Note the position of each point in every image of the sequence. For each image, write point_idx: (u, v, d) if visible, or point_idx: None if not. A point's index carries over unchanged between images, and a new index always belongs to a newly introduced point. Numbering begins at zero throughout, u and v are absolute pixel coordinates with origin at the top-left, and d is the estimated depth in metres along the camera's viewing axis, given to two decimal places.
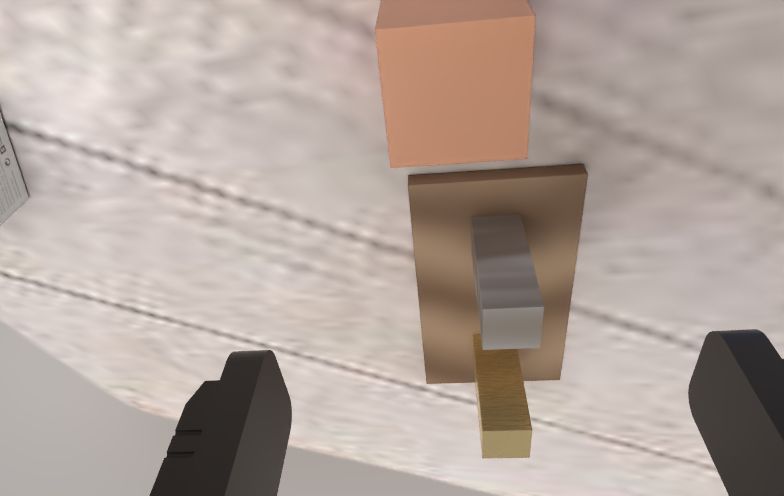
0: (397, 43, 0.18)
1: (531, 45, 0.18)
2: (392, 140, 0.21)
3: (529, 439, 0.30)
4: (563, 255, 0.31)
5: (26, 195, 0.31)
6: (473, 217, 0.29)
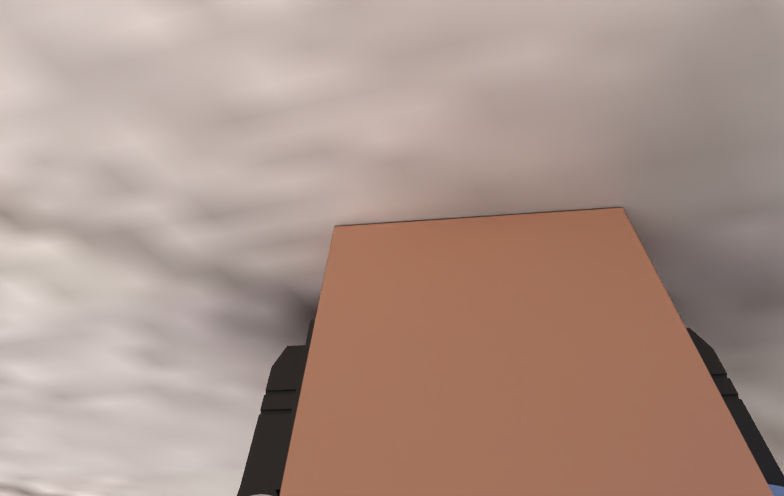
0: None
1: None
2: None
3: None
4: None
5: None
6: None
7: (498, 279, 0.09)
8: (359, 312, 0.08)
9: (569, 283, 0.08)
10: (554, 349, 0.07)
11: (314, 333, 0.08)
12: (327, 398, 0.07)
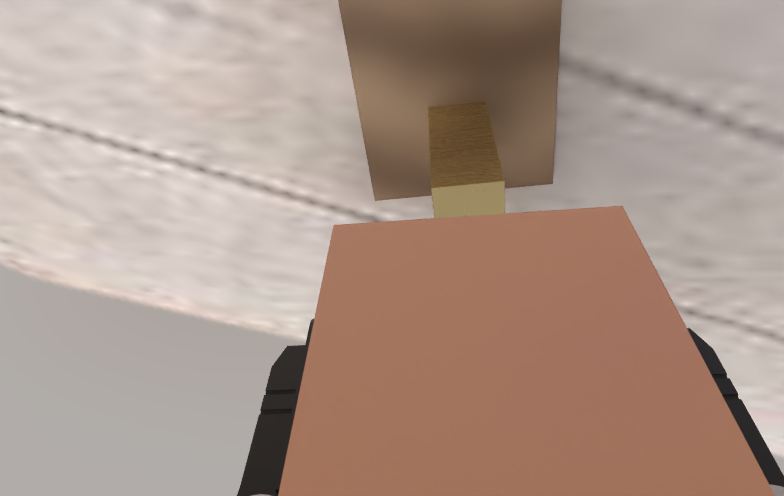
0: None
1: None
2: None
3: (502, 201, 0.20)
4: None
5: None
6: None
7: (498, 278, 0.09)
8: (358, 310, 0.08)
9: (568, 281, 0.08)
10: (554, 347, 0.07)
11: (313, 331, 0.08)
12: (326, 396, 0.07)
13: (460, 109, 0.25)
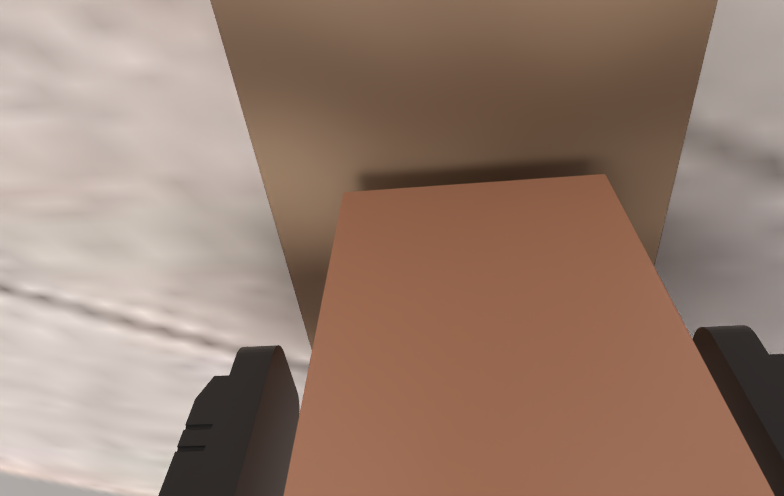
0: None
1: None
2: None
3: None
4: None
5: None
6: None
7: (492, 234, 0.10)
8: (367, 262, 0.09)
9: (554, 236, 0.09)
10: (540, 289, 0.08)
11: (328, 279, 0.09)
12: (341, 330, 0.08)
13: None
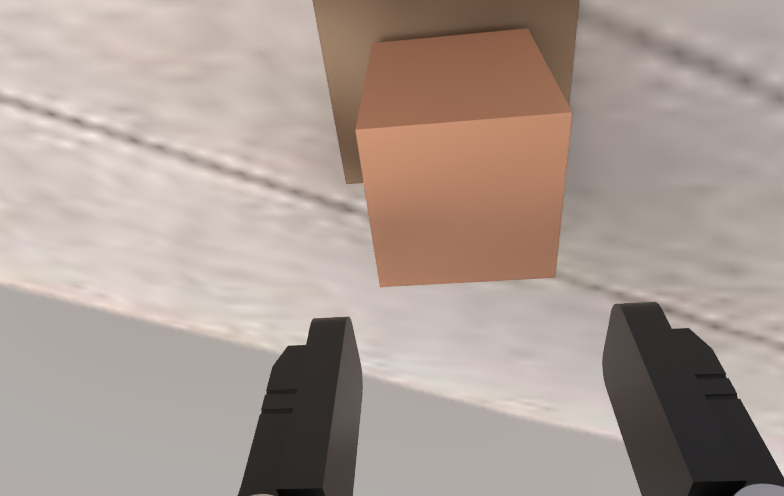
0: (385, 146, 0.14)
1: (565, 148, 0.14)
2: (381, 257, 0.16)
3: None
4: None
5: None
6: None
7: (459, 52, 0.17)
8: (389, 65, 0.17)
9: (493, 51, 0.17)
10: (482, 67, 0.16)
11: (367, 71, 0.17)
12: (376, 86, 0.16)
13: None
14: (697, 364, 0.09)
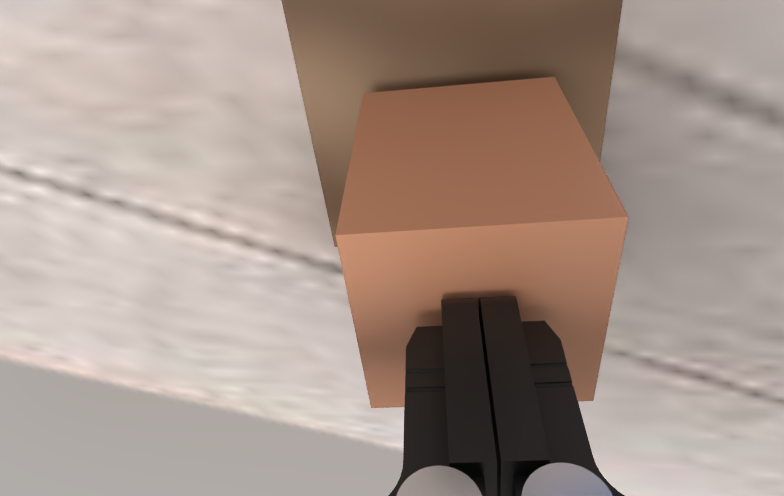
0: (376, 254, 0.10)
1: (616, 259, 0.10)
2: (372, 377, 0.13)
3: None
4: None
5: None
6: None
7: (470, 111, 0.14)
8: (383, 128, 0.13)
9: (514, 110, 0.13)
10: (501, 136, 0.12)
11: (355, 137, 0.13)
12: (366, 160, 0.12)
13: None
14: (543, 354, 0.10)
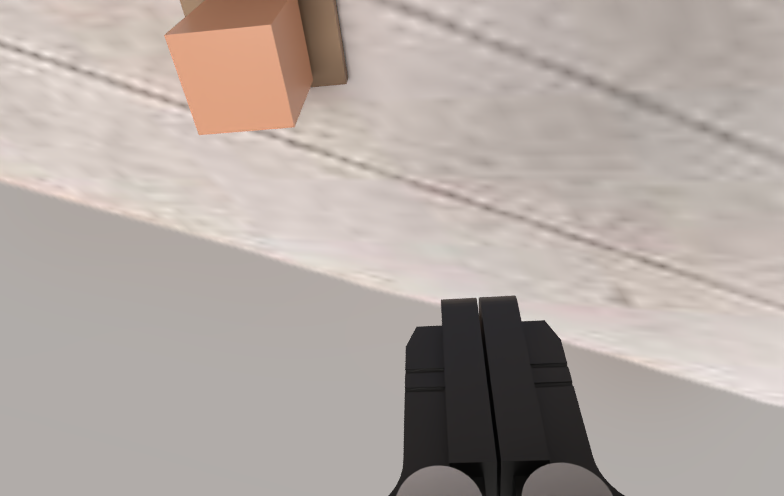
0: (181, 44, 0.26)
1: (274, 45, 0.26)
2: (195, 114, 0.29)
3: None
4: None
5: None
6: None
7: (246, 2, 0.30)
8: (205, 9, 0.29)
9: (265, 1, 0.29)
10: (250, 8, 0.29)
11: (191, 12, 0.29)
12: (190, 18, 0.28)
13: None
14: (543, 354, 0.10)
